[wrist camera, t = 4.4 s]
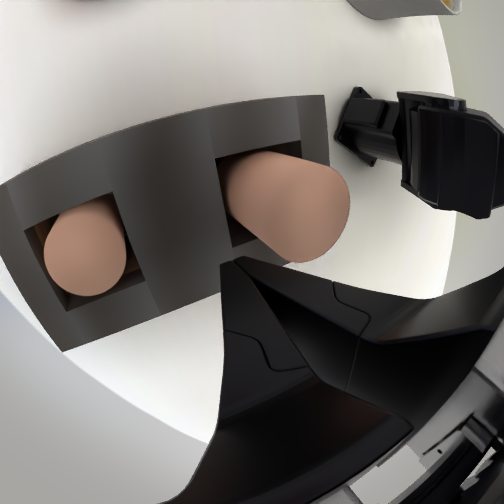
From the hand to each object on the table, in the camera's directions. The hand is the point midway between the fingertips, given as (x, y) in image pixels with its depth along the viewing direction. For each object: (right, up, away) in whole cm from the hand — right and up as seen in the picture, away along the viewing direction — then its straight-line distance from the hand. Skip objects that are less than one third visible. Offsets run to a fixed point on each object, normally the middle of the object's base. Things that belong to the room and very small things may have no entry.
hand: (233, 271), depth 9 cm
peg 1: (-11, +3, +8) cm, 14 cm away
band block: (-6, +5, +10) cm, 13 cm away
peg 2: (0, +5, +8) cm, 10 cm away
